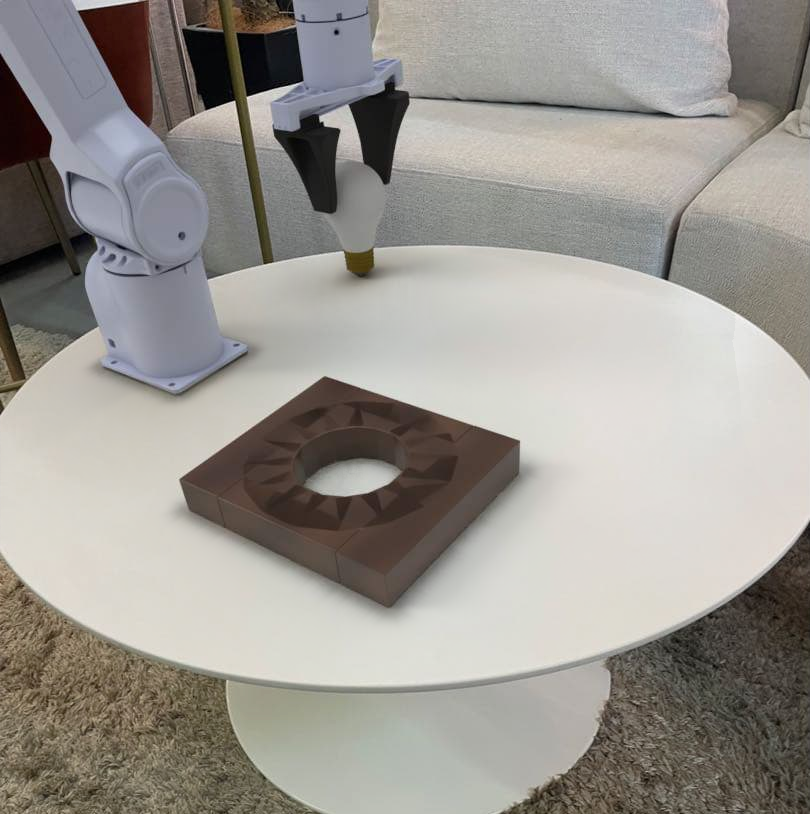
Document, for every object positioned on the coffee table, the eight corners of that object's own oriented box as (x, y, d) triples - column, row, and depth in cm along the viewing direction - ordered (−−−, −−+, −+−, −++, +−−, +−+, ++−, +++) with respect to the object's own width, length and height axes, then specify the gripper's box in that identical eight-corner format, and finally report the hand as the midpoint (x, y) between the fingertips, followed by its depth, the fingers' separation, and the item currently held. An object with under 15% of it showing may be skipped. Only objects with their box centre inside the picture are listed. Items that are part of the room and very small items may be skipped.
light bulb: (385, 289, 73) (374, 174, 67) (322, 287, 74) (306, 174, 68) (398, 262, 77) (389, 151, 71) (339, 261, 79) (325, 152, 72)
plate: (188, 510, 51) (178, 479, 50) (329, 405, 59) (324, 375, 58) (389, 608, 44) (384, 575, 42) (519, 472, 52) (520, 440, 50)
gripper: (309, 38, 56) (335, 233, 65) (428, -2, 64) (436, 176, 73) (237, 33, 59) (271, 219, 68) (359, -4, 68) (375, 166, 77)
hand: (352, 196), depth 71 cm, fingers open, 7 cm apart
